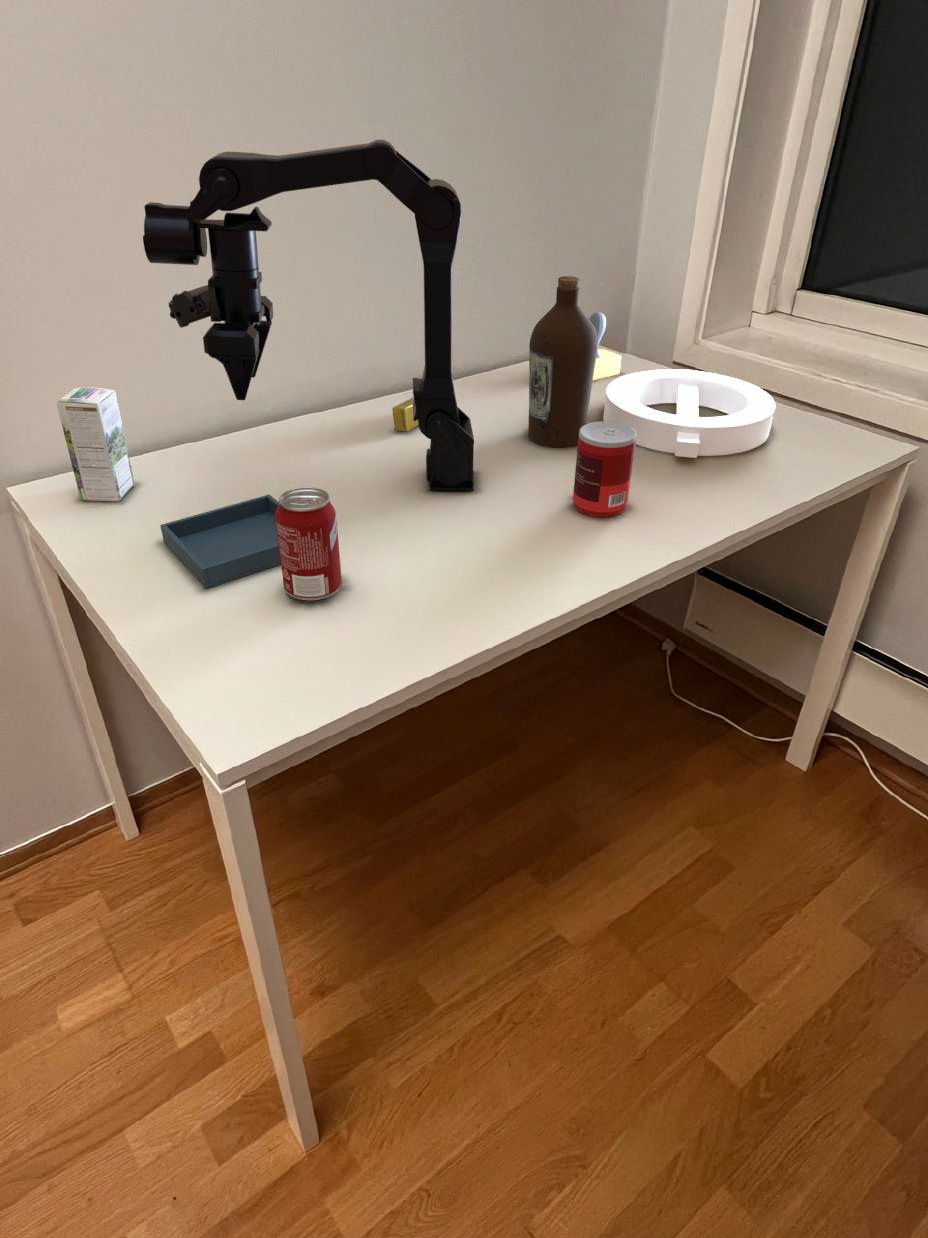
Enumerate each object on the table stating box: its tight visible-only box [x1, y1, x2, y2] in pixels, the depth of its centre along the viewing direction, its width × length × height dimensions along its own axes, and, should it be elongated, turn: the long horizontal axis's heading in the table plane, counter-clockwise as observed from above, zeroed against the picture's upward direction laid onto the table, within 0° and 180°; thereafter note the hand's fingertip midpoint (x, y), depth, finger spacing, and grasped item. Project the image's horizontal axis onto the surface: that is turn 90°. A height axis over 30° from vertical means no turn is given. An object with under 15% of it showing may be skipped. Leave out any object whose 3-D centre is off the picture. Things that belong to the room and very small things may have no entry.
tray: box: [159, 494, 281, 590], centre depth 107 cm, size 15×14×3 cm
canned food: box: [572, 420, 637, 518], centre depth 116 cm, size 8×8×11 cm
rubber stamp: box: [588, 311, 622, 381], centre depth 162 cm, size 10×6×12 cm, turn 126°
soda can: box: [275, 486, 343, 602], centre depth 96 cm, size 7×7×12 cm
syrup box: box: [56, 386, 135, 502], centre depth 116 cm, size 6×6×14 cm
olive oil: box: [527, 275, 599, 448], centre depth 132 cm, size 11×11×25 cm
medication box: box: [391, 396, 419, 432], centre depth 143 cm, size 12×3×4 cm, turn 149°
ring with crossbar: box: [602, 368, 776, 459], centre depth 144 cm, size 28×28×5 cm
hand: (246, 387), depth 115 cm, fingers open, 9 cm apart
